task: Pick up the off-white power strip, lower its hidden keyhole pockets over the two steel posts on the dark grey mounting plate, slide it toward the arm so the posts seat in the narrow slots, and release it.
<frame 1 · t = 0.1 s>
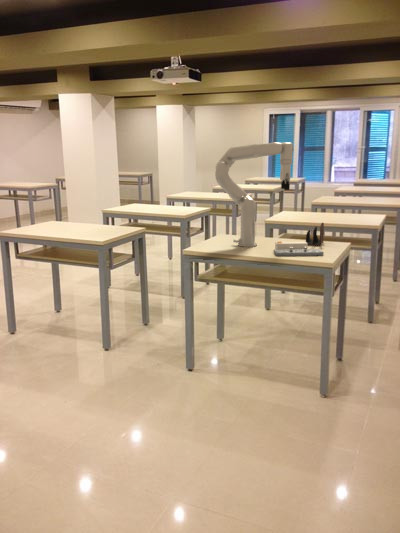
hand: (285, 189, 317), 37 cm above the table, tool pointing down, fingers open, 9 cm apart
power strip: (291, 250, 307), on the table
letter holder: (314, 244, 330), on the table
mounting plate: (298, 254, 296), on the table
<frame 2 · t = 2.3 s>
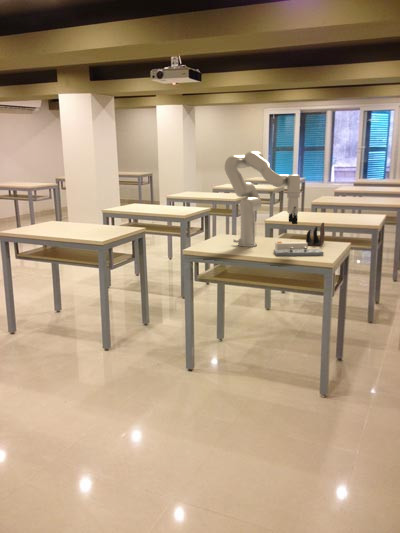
hand: (292, 223, 303), 17 cm above the table, tool pointing down, fingers open, 9 cm apart
nothing on the table moved.
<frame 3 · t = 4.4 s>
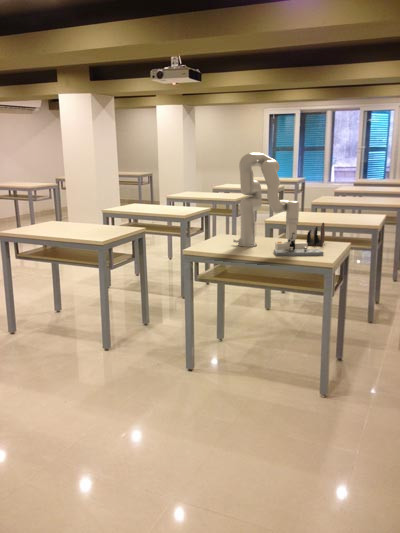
hand: (291, 249, 307), 1 cm above the table, tool pointing down, fingers closed on power strip, 6 cm apart
power strip: (291, 250, 307), on the table, touching gripper
everything else where it was.
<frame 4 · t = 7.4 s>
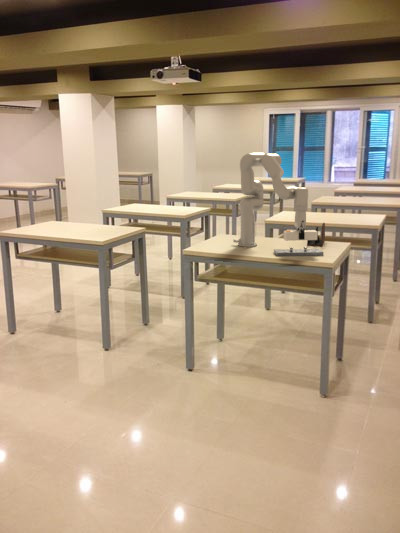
hand: (300, 238, 294), 10 cm above the table, tool pointing down, fingers closed on power strip, 6 cm apart
power strip: (300, 239, 294), point 9 cm above the table, touching gripper
everything else where it was.
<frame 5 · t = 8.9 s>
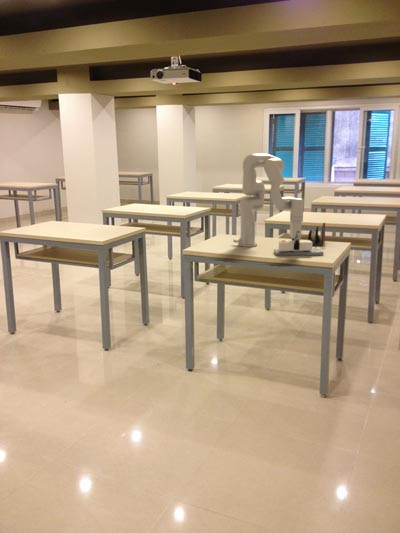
hand: (295, 248, 296), 4 cm above the table, tool pointing down, fingers closed on power strip, 6 cm apart
power strip: (295, 249, 296), point 3 cm above the table, touching gripper
when the fingers open (3 cm above the table, at t = 10.4 s): power strip stays where it is, resting on mounting plate.
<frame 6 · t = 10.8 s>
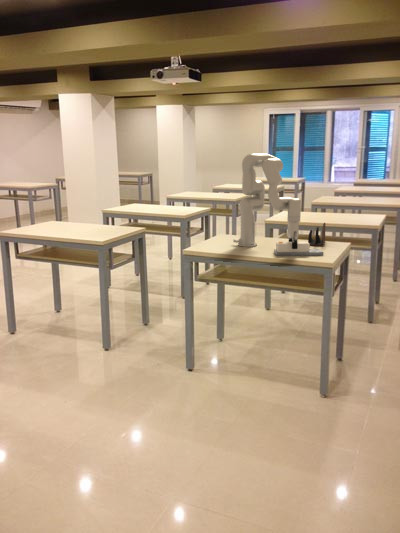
hand: (292, 247, 295), 4 cm above the table, tool pointing down, fingers open, 9 cm apart
power strip: (292, 250, 296), point 2 cm above the table, touching mounting plate
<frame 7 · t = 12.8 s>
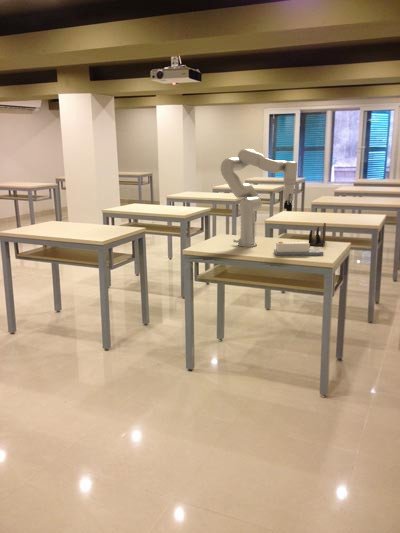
hand: (287, 209, 302), 25 cm above the table, tool pointing down, fingers open, 9 cm apart
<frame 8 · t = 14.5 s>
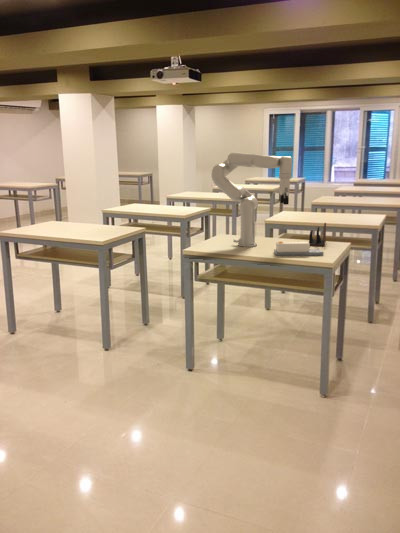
hand: (284, 203, 311), 28 cm above the table, tool pointing down, fingers open, 9 cm apart
at the end: power strip 0.3 cm from the target spot on the mounting plate, point 2.0 cm above the mounting plate's base; power strip tilted 0°; the gripper is holding nothing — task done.
